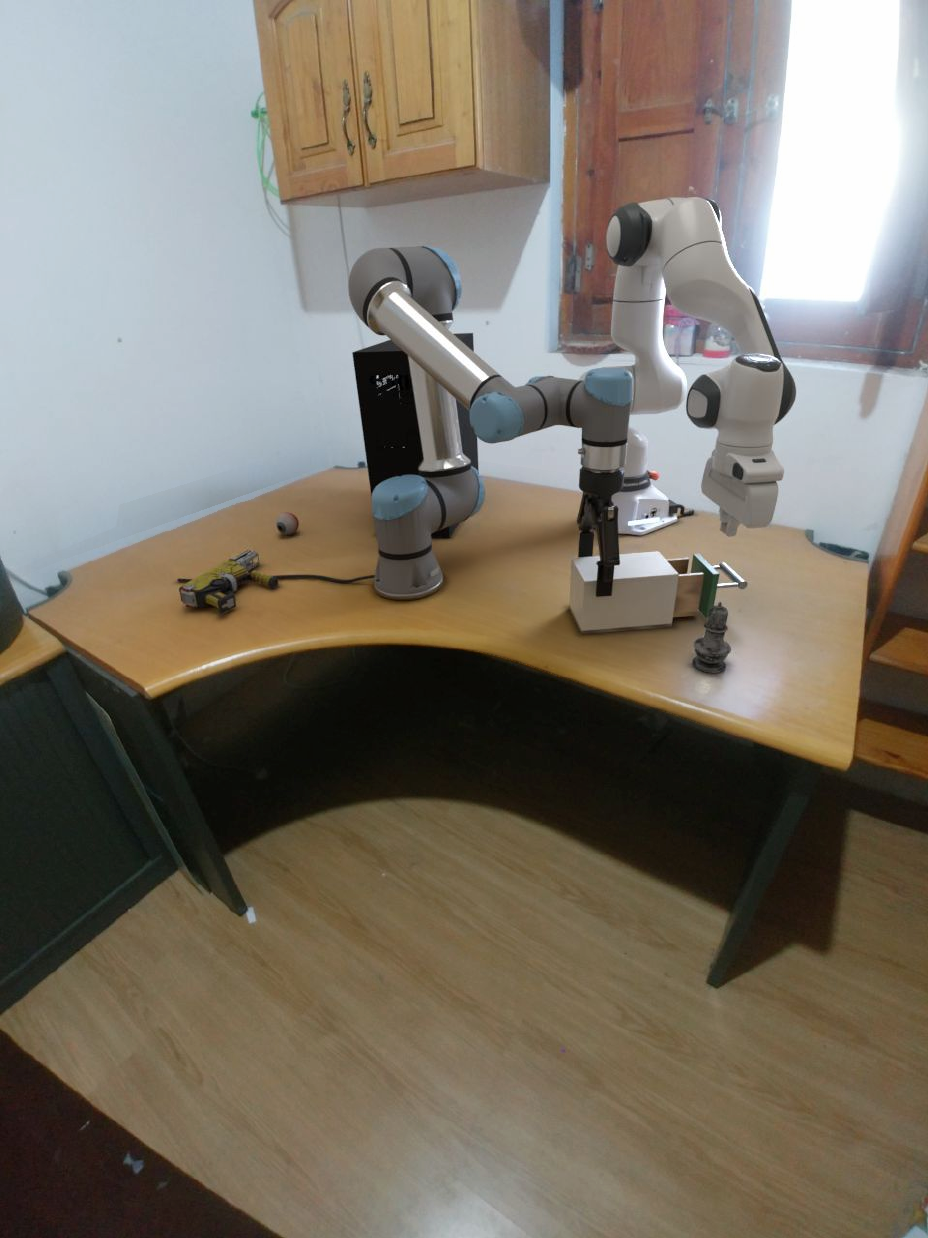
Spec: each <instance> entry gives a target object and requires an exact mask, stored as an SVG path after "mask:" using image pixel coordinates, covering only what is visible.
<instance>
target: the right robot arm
mask: <svg viewBox="0 0 928 1238" xmlns="http://www.w3.org/2000/svg"><path fill="white" fill-rule="evenodd" d="M605 237H606V239H605V242H606V244H605V245H606V252H607V256H608V257H609V259H610V261H612V263H613V264H614V265H617V269H616V275H615V280H614V286H613V297H612V309H611V322H610V323H611V324H610V337H611V340H612V342H614V344H615V345H616V346H618V347H619V348H621V349H623V350H624V351H626V352H629V353H631V354H632V355H634V364H631V365H619V366H603V367H601V368H621V369H626V370H628V371H629V372H630V373H631V374H632V402H631V409H630V416H637V415H657V414H661V413H662V414H663V413H666V412H670V411H674V410H676V409H678V408H680V405H681V404H682V403H683V401H684V400H685V398H686V403H685V411H686V415H687V417H688V419H689V420H690V422H691V423H692V424H693V425H695V426H696V427H697V428H699V429H705V430H714V429H716V430H717V431H718V434H717V437H716V440H715V446H714V449H713V450H712V451H711V455H710V457H709V458H708V459H707V460H706V463H705V467H704V470H703V475H702V477H701V478H702V479H701V484H700V490H701V493H702V495H704V496H705V497H706V498H707V499H709V500H710V501H711V502H713V503H714V504H715V505H717V506H718V508H719V509H718V513H719V520H720V525H719V530H720V531H721V532H722V533H723V534H724V535H725V536H726V537H728V538H729V537H730V538H731V537H735V536H736V535H737V533H738V528H739V526H740V525H741V524H742V525H743V526H745V528H747V529H762V528H767V527H768V526H769V525H770V524H771V522H772V520H773V519H774V514H775V511H776V507H777V502H778V497H779V484H778V482H780V481H782V480H783V478H784V474H785V469H784V466H783V465H782V464H781V462H780V461H779V460H778V458H777V457H776V455H775V452H774V450H772V448H773V444H774V426H775V425H777V424H778V423H780V422H781V421H782V420H783V419H784V418H785V417H786V416H787V415H788V413H789V412H790V411H791V410H792V408H793V405H794V403H795V401H796V397H797V386H796V382H795V379H794V377H793V375H792V373H791V371H789V368H788V367H787V365H786V364H785V362H784V361H783V358H782V357H781V354H780V352H779V348H778V347H777V344H776V341H775V339H774V336H773V333H772V331H771V328H770V325H769V323H768V320H767V318H766V315H765V312H764V310H763V307H762V305H761V302H760V300H759V298H758V296H757V293H756V292H755V290H754V289H753V288H752V287H751V286H750V285H749V284H748V283H746V282H745V281H744V280H743V279H742V278H741V276H740V275H739V273H738V272H737V270H736V269H735V268H734V266H733V264H732V262H731V260H730V257H729V254H728V250H727V246H726V245H727V244H726V241H725V237H724V234H723V231H722V213H721V210H720V207H719V205H718V203H717V202H716V201H715V200H713V199H710V198H707V197H702V196H689V197H665V198H663V199H655V200H654V199H653V200H648V201H644V202H639V203H638V202H630V203H627V204H624V205H621V206H619V207H617V208H616V209H615V210H614V212H613V214H612V215H611V216H610V218H609V221H608V224H607V229H606V235H605ZM666 296H667V299H668V300H669V303H670V304H671V306H672V307H673V308H674V309H675V310H676V311H678V312H679V313H680V314H683V316H687V317H690V318H693V319H698V320H701V321H705V322H708V323H711V324H714V325H717V326H718V327H720V328H722V329H724V330H726V331H727V332H728V333H729V334H730V335H731V336H732V337H733V339H734V341H735V343H736V347H737V349H738V351H739V354H740V355H738V356H736V357H735V358H733V359H732V360H731V361H730V363H729V364H728V365H727V366H725V367H723V368H720V369H718V370H714V371H710V372H707V373H704V374H700V375H699V376H698V377H697V378H696V379H695V380H694V381H693V383H692V384H691V385H690V388H689V390H688V380H687V378H686V377H687V376H686V374H685V372H684V371H683V370H682V369H681V367H679V366H678V365H677V364H676V363H675V362H674V360H672V358H671V357H670V356H669V354H668V352H667V349H666V347H665V343H664V337H663V336H664V335H663V330H664V329H663V327H664V311H665V301H666ZM588 371H589V370H587V371H584V372H583V373H582V374H581V375H580V377H579V378H578V380H583V381H584V380H585V375H586V373H587V372H588ZM687 391H688V392H687ZM627 436H628V437H627V441H628V445H627V456H626V464H625V466H624V467H623V469H624V470H625V473H624V483H623V489H622V490H621V491H620V492H618V493H615V494H614V495H613V496H612V497H611V498H612V501H613V504H614V506H618V509H619V510H618V535H619V534H623V535H625V534H626V535H632V536H633V535H634V536H645V535H646V534H650V533H652V532H654V531H657V530H660V529H662V528H665V527H668V526H670V525H672V524H675V523H677V522H678V516H677V515H676V514H678V513H680V515H681V516H682V517H687V516H690V515H694V514H695V510H694V509H691V510H688V511H685V510H686V508H685V506H684V505H683V504H680V503H676V502H674V501H673V500H671V499H669V498H668V497H667V496H666V495H665V494H664V493H663V492H661V491H660V490H659V489H658V488H656V487H655V486H654V485H652V483H651V480H653V481H658V479H659V478H660V473H659V472H657V471H654V470H651V471H649V470H648V469H647V466H648V458H649V457H648V455H649V446H650V443H649V440H648V438H647V437H646V435H645V434H644V433H643V432H641V431H639V430H638V429H636V428H634V427H631V426H630V425H629V426H628V435H627ZM679 509H680V511H679Z"/></svg>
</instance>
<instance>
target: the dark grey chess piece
mask: <svg viewBox="0 0 928 1238" xmlns="http://www.w3.org/2000/svg"><path fill="white" fill-rule="evenodd" d="M728 616H729V611H728V608H726V607H725V606H723V603H722V601H719V602H718V603H717V605H714V606H713V607H711V608H710V610H709V614H708V618H707V621H706V622H705V623H704V624H703V627H704V630H705V631H704V635H703V636H702V637H699V638H697V639H695V640H694V641H693V647H694V651H695V655H696V656H695V657H693V658H692V665H693V666H694V667H695V668H696V669H698V670H699V671H702V672H705V673H710V674H716V673H717V674H718V673H721V672H724V670H726V667H727V664H726V662H725V660H726V659H727V658H728V655H730V654H731V651H732V647H731V645H730V644H729V643H728V642H727V641H725V634H726V632H728V630H729V628H728V625H727V622H728Z"/></svg>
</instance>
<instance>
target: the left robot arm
mask: <svg viewBox="0 0 928 1238" xmlns="http://www.w3.org/2000/svg"><path fill="white" fill-rule="evenodd" d="M347 284H348V285H347V288H348V289H347V290H348V297H349V300H350V303H351V306H352V309H353V310H354V312H355V314H356V315H357V317H358V318H359V319H360V320H361V322H362V323H363V324H364V325H365V326H366V327H367V328H369V330H371V331H372V332H373V333H374V334H376V335H378V336H383V337H384V336H386V337H387V338H388V340H392V341H393V342H394V343H395V344H396V345H397V346H398V347H399V348H400V349H402V350H403V351H404V352H405V353H406V354H407V356H408V362H409V369H410V375H411V381H412V388H413V394H414V401H415V407H416V414H417V420H418V427H419V433H420V439H421V446H422V452H423V460H422V462H421V463H420V465H419V466H418V472H419V476H418V475H403V476H400V477H399V476H396V477H392V478H389V479H387V480H385V481H383V482H381V483H380V484H378V485H377V486H376V487H375V489H374V490H373V493H372V497H371V514H372V515H373V522H374V529H375V537H376V538H375V539H376V544H377V545H376V546H377V551H378V552H377V553H378V558H377V563H376V568H375V572H374V574H371V575H370V574H369V575H364V576H359V577H355V578H349V579H340V578H334V577H330V576H325V575H320V574H319V575H318V574H277V575H269V576H270V577H271V576H272V577H276V578H277V579H298V578H299V579H300V578H301V579H303V578H304V579H305V578H306V579H319V580H326V581H330V582H335V583H342V584H348V583H355V582H360V581H364V580H371V579H373V585H374V591H375V592H376V593H377V594H378V595H379V596H381V597H382V598H385V599H388V600H394V601H413V600H419V599H424V598H425V597H429V596H431V595H433V594H435V593H436V592H438V591H439V590H440V589H441V588H442V587H443V585H444V577H443V572H442V569H441V567H440V564H439V563H438V561H437V558H436V555H435V553H434V551H433V544H432V537H431V533H433V532H436V531H438V530H441V529H443V528H446V527H448V526H451V525H453V524H456V523H459V524H460V523H463V522H465V521H467V520H468V519H469V518H471V517H473V516H475V515H477V514H478V513H479V511H480V510H481V508H482V507H483V505H484V502H485V497H486V488H485V487H486V486H485V482H484V479H483V476H482V475H480V472H478V470H477V469H475V468H474V467H472V466H471V461H470V459H469V458H468V457H466V456H465V455H464V454H463V453H462V446H461V438H460V430H459V422H458V414H457V406H456V400H458V401H459V402H460V403H461V404H462V405H463V406H464V407H465V408H466V409H467V410H469V411H470V423H471V427H473V429H474V431H475V435H476V436H477V439H478V440H480V441H482V442H483V443H485V444H491V445H493V444H498V443H505V442H510V441H513V440H515V439H516V438H519V437H523V436H526V435H528V434H532V433H536V432H539V431H542V430H545V429H549V428H551V427H554V426H565V427H570V428H577V429H581V448H578V449H577V454H578V455H580V465H581V468H580V469H579V474H578V475H579V476H578V489H579V490H580V491H581V492H582V496H581V500H580V504H579V508H578V513H577V518H576V524H577V525H578V530H579V533H578V535H579V536H578V551H577V558H579V557H592V556H594V555H593V554H594V543H595V531H596V537H597V545H598V553H599V556H600V561H597V563H596V564H597V565H598V571H597V583H596V597H603V596H612V587H613V576H614V566H615V565H619V564H620V556H619V554H620V539H619V538H620V537H619V533H618V510H619V509H618V506H614V504H613V501H612V498H611V497H612V496H613V495H614V494H615V493H618V492H620V491H621V490H622V489H623V483H624V473H625V470H624V469H623V467H624V466H625V464H626V456H627V445H628V441H627V437H628V436H627V435H628V426H629V427H630V417H631V415H630V409H631V402H632V374H631V373H630V372H629V371H628V370H626V369H621V368H602V367H598V368H596V367H595V368H592V369H589V370H587V371H588V372H587V373H586V375H585V380H584V381H583V380H579V379H573V378H566V377H565V378H564V377H558V376H554V375H546V376H545V375H544V376H541V375H537V376H533V377H531V378H530V379H529V380H528V381H527V382H526V383H525V384H524V385H520V386H515V385H513V384H512V383H510V381H508V380H507V379H505V377H504V376H502V375H501V374H500V373H499V372H497V370H495V369H494V368H493V367H492V366H490V365H489V364H488V363H487V362H486V361H485V360H484V359H483V358H481V357H480V355H478V354H477V353H476V352H475V351H474V352H473V351H472V350H471V349H470V348H469V347H467V346H466V345H465V344H464V343H463V342H462V341H460V340H459V339H458V338H457V337H456V336H455V335H454V334H455V333H453V332H452V331H450V330H449V329H450V328H451V326H452V325H453V323H454V313H453V312H454V311H455V309H457V307H458V306H459V303H460V299H461V298H462V292H463V291H462V289H463V286H462V278H461V273H460V271H459V268H458V266H457V264H456V262H455V261H454V259H453V258H452V257H451V256H450V255H449V254H448V253H447V252H446V251H445V250H443V249H441V248H440V247H439V248H438V247H433V246H432V247H431V246H425V245H421V246H420V245H418V246H401V247H400V246H399V247H376V248H371V249H369V250H367V251H366V252H364V253H363V254H360V256H359V257H358V258H357V259H356V260H355V262H354V264H353V265H352V267H351V269H350V273H349V276H348V283H347ZM193 579H194V578H177V582H181V583H187V582H189V581H191V580H193ZM248 581H250V582H251V581H252V580H251V579H250V580H248ZM248 581H247V582H248Z"/></svg>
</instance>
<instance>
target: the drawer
mask: <svg viewBox="0 0 928 1238" xmlns="http://www.w3.org/2000/svg"><path fill="white" fill-rule="evenodd" d="M665 559H666V560H667V561H668V562H669V564H670V565H671V566H672V567H673V568H674V569H675V570H676V571H677V573H678V574H679V576H678V584H677V591H676V598H675V605H674V612H673V618H681V617H683V618H684V617H695V616H696V617H697V616H698V613H699V612H700V613H701V614H702V616H703V617H704V618H705V619H708V614H709V610H710V608H711V607H713V606H715V602H716V596H717V591H718V589H724V588H725V589H728V588H738V589H739V590H745V589H747V588H748V582H747V581H746V580H745V579H744V578H743V577H742V576H741V575H740V574H738V573H737V572H736V571H735V570H734V569H733V568H732V567H731V566H730V565H729V564H727V562H725V561H724V562H720V563H719V564H718V565H711V564H710V563H709V561H707V560H706V559H705V558H704V557H703V556H702V555H701V554H700V553H694V554H692V561H691V567H690V572H689V573H688V570H689V564H690V563H689V562H690V558H689V557H676V558H675V557H674V558H665ZM718 570H719V571H720V572H722V574H723V575H725V576H726V577H727V578H728V580H730V581H731V582H727V583H719V580H720V572H719V571H718Z"/></svg>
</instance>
